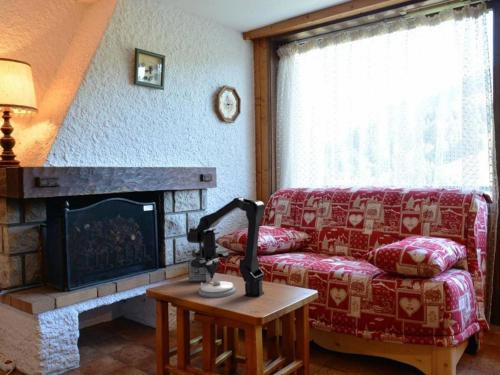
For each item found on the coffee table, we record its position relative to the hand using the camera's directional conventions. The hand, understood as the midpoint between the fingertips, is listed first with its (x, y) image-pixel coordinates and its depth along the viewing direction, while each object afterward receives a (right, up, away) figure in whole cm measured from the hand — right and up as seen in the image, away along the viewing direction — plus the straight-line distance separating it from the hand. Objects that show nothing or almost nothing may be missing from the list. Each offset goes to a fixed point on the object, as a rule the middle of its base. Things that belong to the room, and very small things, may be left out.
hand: (211, 278), depth 190 cm
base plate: (+3, -5, -6) cm, 8 cm away
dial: (+3, -3, -6) cm, 7 cm away
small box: (-7, -5, +15) cm, 18 cm away
